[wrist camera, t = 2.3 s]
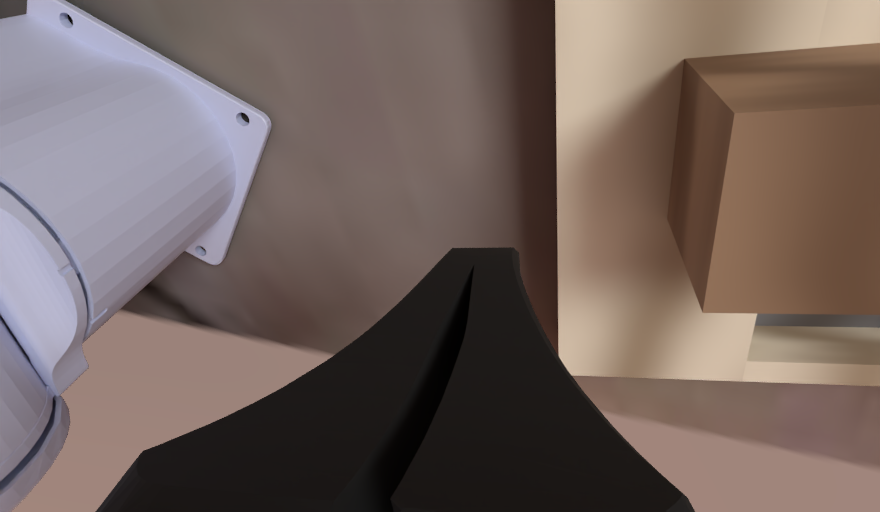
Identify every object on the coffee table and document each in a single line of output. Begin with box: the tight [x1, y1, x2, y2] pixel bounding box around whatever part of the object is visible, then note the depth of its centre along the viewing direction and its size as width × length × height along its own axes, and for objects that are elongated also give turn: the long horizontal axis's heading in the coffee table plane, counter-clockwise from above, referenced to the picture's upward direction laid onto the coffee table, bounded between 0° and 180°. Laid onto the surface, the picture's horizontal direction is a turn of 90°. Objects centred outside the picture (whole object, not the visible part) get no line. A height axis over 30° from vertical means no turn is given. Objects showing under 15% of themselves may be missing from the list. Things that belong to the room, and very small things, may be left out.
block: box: [667, 43, 880, 315], centre depth 14 cm, size 5×5×5 cm
